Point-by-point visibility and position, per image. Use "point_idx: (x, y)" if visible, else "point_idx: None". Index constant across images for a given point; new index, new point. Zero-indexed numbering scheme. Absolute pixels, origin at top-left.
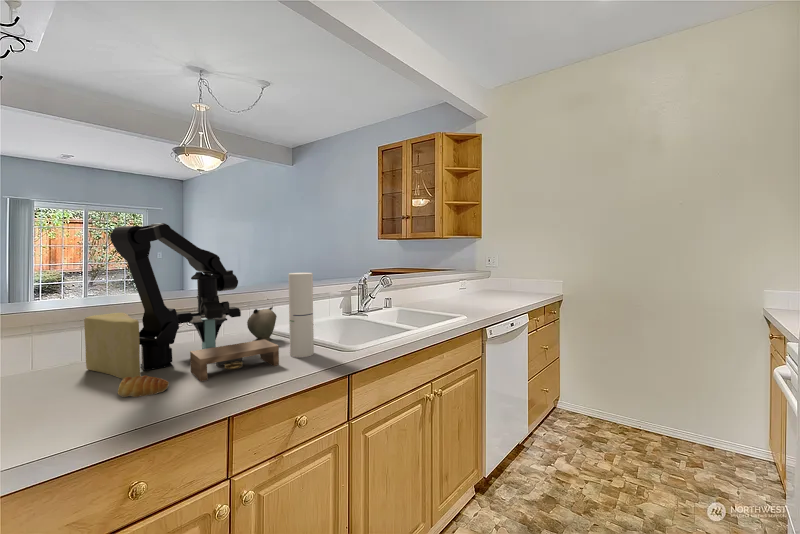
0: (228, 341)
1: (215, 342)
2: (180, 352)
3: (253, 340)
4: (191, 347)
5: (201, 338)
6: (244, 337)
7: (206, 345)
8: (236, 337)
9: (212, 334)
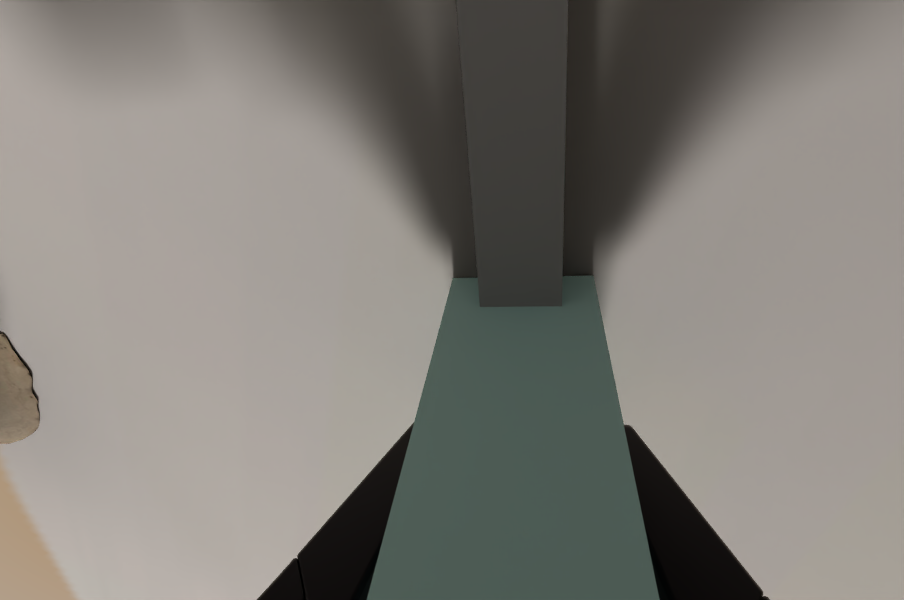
0: (277, 530)
1: (436, 346)
2: (835, 452)
3: (18, 408)
4: None
5: (667, 487)
6: (139, 557)
7: (587, 333)
8: (208, 591)
9: (466, 471)
